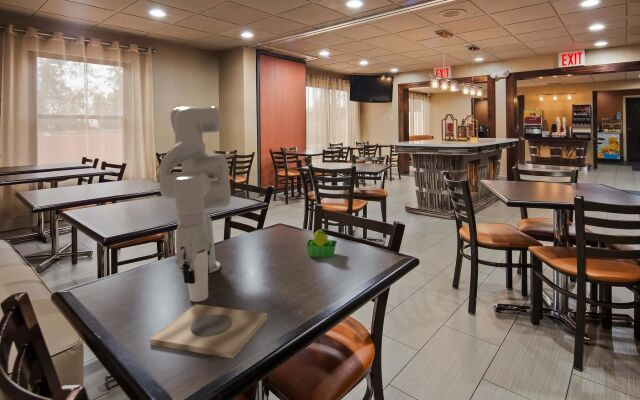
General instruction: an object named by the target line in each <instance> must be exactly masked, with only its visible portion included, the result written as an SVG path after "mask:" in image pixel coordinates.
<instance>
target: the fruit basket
mask: <svg viewBox="0 0 640 400" xmlns="http://www.w3.org/2000/svg"><path fill="white" fill-rule="evenodd" d="M337 243H338V241H337V240H332V239H329V238H328V235H327V233H326V232H325V231H324V230H323V229H318V230H317V231H315V233H314V236H313V239H309V240H308V241H307V242H306V243H305V247H306V250H307V253H308V256H309V257H310V258H329V259H332V258H333V256H334V254H335V251H336V247H337Z"/></svg>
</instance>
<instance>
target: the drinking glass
mask: <svg viewBox="0 0 640 400" xmlns="http://www.w3.org/2000/svg"><path fill="white" fill-rule="evenodd" d="M185 259H189V258H188V257H187V256H186V257H185ZM186 264H187V265H188V266H189V262H186ZM192 270H194V277H195V283H194V284H189V283H186V284H187V289H188V295H189V300H190V301H191V302H193V303H198V302H203V301H206V300H207V299H208V298H209V274H208V258H207V250H206V249H205V251H204V252H202V253H198V254H196V259H195V260H193V267H192Z"/></svg>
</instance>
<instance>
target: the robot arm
mask: <svg viewBox="0 0 640 400" xmlns="http://www.w3.org/2000/svg"><path fill="white" fill-rule="evenodd" d="M170 123H171V126H172V130H173V133H174V136H175V138H174V143H175V145H174V146H173V147H172V148H170V150H168V152H167V153H166V154H165V155H164V156H163V158H162V160H161V162H160V165H159V177H158V178H159V181H158V184H159V185H158V186H159V191H160V194H161V196H162V197H163V198H165V199H169V200H175V207H176V208H175V209H176V217H177V226H176V230H175V231H176V232H175V250H176V252H175V253H176V260H175V264H176V266H178V267H179V269H180V270H181V271H182V274H183V282H184V283H185V284H187V283H189V284H194V283H195V277H194V270H192V267H193V260H195V259H196V254H198V253H202V252H204V251H205V249H206V250H207V258H208V275H210V274H211V273H215V272H216V271H219V270H220V268H221V263H220V261H217V260H216V253H215V252H216V251H215V250H216V249H215V239H214V229H213V227H214V226H213V220H212V218H211V217H210V215H209V214H208V213H207V212H206V211H205V210H207V209H208V210H209V209H221V208H226V207H229V205H230V204H231V201H232V194H231V193H232V191H231V184H230V181H231V180H230V173H229V165H228V162H227V161H228V160H227V158H226V156H224V155H223V154H220V153H208V154H207V153H206V144H205V143H204V139H203V138H204V137H203V134H206V133H209V134H210V133H219V132H220V131H221V127H222V115H221V112H220V109H219V108H218V106H215V105H208V106H207V105H205V106H204V105H203V106H202V105H201V106H199V105H198V106H196V105H193V106H191V105H190V106H189V105H188V106H187V105H186V106H179V107H176V108H174V109H172V110H171V112H170ZM179 165H181V172H175V173H171V172H172V171H173V169H175V168H176V167H177V166H179ZM186 256H187V257H188V258H189V259H185V257H186ZM186 262H189V266H188V265H187V264H186Z"/></svg>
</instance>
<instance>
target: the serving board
mask: <svg viewBox="0 0 640 400" xmlns="http://www.w3.org/2000/svg"><path fill="white" fill-rule="evenodd" d="M267 320H268V313H266V312H260V311H259V312H258V311H252V310H244V309H243V310H242V309H235V308H227V307H220V306H213V305H212V306H211V305H204V304H197V303H196V304H194V305H193V306H191V307H190V308H188V309H187V310H186V311H185V312H183V313H182V314H181V315H179V316H178V317H176V318H175V319H174V320H173V321H171V322H170V323H169V324H168V325H166V326H165V327H163V328H162V329H161V330H160V331H158V332H156V333H155V334H154V335H153V336H152V337H150V338H149V342H150V345H152V346H157V347H161V348H162V347H163V348H169V349H173V350H174V349H175V350H180V351H184V352H185V351H187V352H192V353H197V354H204V355H208V356H209V355H210V356H215V357H222V358H227V359H235V358H236V356H238V354H239V353H240V351H242V349H243V348H244V346H246V344H247V343H248V342H249V341H250V340H251V339H252V338H253V336H254V335H256V333H257V332H258V330H260V328H261V327H262V326H263V324H264V323H265V322H266V321H267Z"/></svg>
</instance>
